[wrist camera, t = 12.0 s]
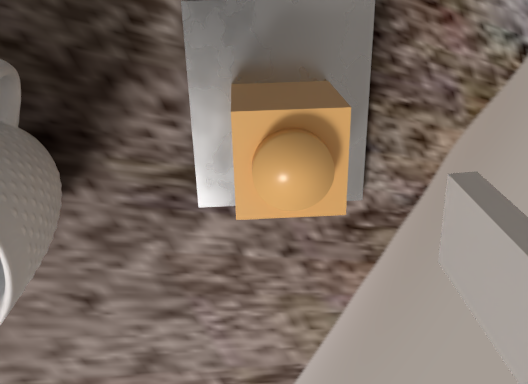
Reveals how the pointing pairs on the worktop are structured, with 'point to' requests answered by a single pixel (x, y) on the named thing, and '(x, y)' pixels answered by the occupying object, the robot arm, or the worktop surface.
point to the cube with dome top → (289, 149)
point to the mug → (22, 196)
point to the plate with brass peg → (271, 72)
